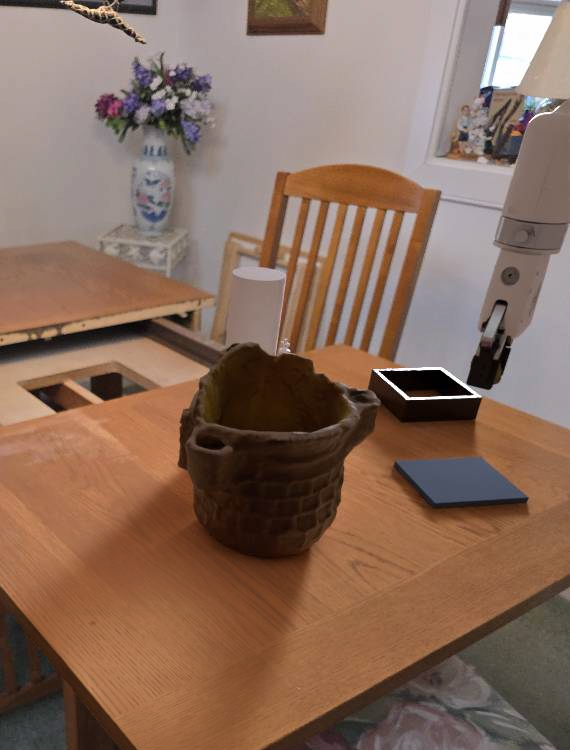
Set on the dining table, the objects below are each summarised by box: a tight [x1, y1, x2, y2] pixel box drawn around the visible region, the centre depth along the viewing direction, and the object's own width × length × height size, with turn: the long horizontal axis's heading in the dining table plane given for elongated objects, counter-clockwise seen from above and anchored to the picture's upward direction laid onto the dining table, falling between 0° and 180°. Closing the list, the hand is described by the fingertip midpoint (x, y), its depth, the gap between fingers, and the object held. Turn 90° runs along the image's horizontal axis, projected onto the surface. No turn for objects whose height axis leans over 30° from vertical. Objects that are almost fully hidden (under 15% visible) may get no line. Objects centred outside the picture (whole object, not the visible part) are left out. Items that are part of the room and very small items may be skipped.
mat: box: [393, 456, 530, 509], centre depth 100 cm, size 14×12×1 cm
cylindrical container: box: [224, 266, 287, 356], centre depth 100 cm, size 7×7×25 cm
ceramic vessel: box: [177, 342, 381, 559], centre depth 81 cm, size 23×24×25 cm
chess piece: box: [277, 338, 291, 356], centre depth 121 cm, size 5×5×10 cm
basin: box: [367, 367, 483, 423], centre depth 122 cm, size 14×14×4 cm
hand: (484, 379), depth 94 cm, fingers closed on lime, 4 cm apart
